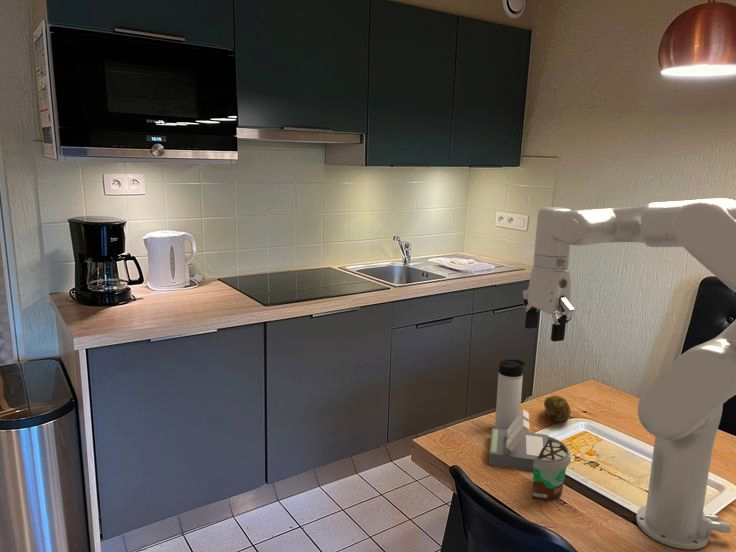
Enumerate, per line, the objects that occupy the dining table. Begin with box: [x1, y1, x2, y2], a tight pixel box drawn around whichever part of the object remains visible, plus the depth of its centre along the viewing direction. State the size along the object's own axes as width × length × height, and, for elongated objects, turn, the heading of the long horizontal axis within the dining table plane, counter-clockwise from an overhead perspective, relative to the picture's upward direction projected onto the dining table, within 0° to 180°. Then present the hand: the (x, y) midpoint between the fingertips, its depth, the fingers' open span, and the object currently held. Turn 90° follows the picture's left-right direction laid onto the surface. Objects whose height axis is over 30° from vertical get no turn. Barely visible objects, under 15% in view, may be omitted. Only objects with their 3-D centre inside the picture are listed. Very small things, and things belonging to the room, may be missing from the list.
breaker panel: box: [488, 427, 549, 472], centre depth 134 cm, size 14×14×3 cm
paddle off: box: [505, 419, 530, 455], centre depth 129 cm, size 2×4×8 cm, turn 165°
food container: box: [531, 435, 571, 502], centre depth 118 cm, size 12×6×10 cm, turn 148°
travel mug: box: [494, 358, 526, 430], centre depth 145 cm, size 6×7×20 cm
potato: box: [543, 394, 572, 422], centre depth 153 cm, size 8×13×8 cm, turn 142°
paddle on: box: [505, 408, 530, 443], centre depth 135 cm, size 2×4×8 cm, turn 165°
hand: (543, 334), depth 127 cm, fingers open, 9 cm apart
